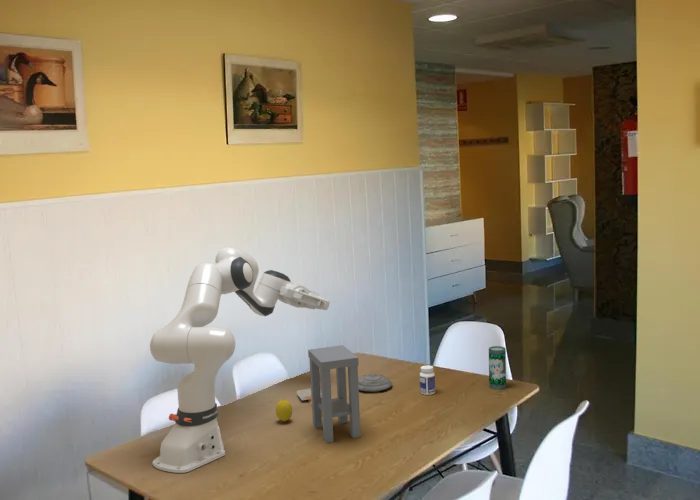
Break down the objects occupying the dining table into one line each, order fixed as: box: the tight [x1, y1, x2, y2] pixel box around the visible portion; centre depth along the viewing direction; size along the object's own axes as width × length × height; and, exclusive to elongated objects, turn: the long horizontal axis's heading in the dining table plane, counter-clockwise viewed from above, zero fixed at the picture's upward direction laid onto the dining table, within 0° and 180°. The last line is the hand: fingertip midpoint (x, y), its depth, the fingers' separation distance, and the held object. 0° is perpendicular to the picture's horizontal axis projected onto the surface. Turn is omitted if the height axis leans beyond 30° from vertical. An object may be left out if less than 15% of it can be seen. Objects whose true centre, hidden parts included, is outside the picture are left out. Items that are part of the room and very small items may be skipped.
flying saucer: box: [358, 373, 393, 393], centre depth 258 cm, size 15×15×6 cm
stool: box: [307, 344, 361, 444], centre depth 215 cm, size 16×12×26 cm
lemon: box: [275, 398, 293, 423], centre depth 226 cm, size 6×6×8 cm
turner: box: [296, 388, 322, 414], centre depth 242 cm, size 24×8×2 cm, turn 18°
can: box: [488, 345, 507, 391], centre depth 252 cm, size 6×6×15 cm
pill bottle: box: [419, 364, 436, 396], centre depth 249 cm, size 6×6×10 cm
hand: (313, 300), depth 250 cm, fingers open, 8 cm apart
